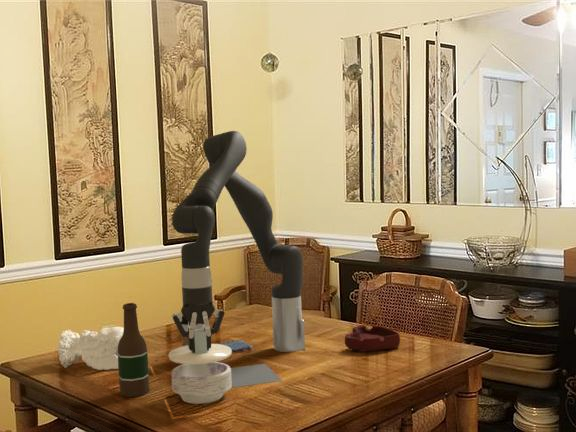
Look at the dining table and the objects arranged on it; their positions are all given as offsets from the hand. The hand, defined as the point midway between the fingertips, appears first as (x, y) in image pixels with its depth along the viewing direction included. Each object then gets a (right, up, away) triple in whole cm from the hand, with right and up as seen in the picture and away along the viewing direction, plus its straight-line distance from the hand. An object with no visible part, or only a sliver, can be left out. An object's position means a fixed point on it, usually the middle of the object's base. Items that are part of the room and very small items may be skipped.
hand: (200, 350), depth 180 cm
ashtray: (+50, -7, +43) cm, 66 cm away
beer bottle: (-18, -13, +8) cm, 24 cm away
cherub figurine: (-36, -11, +36) cm, 52 cm away
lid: (0, -1, 0) cm, 1 cm away
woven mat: (+5, -9, +46) cm, 48 cm away
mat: (+10, -11, +17) cm, 22 cm away
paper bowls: (+1, -13, +1) cm, 13 cm away
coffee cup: (-6, -10, +35) cm, 37 cm away
